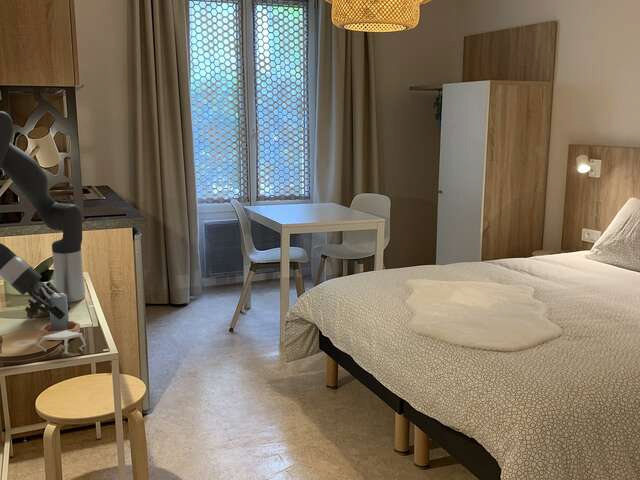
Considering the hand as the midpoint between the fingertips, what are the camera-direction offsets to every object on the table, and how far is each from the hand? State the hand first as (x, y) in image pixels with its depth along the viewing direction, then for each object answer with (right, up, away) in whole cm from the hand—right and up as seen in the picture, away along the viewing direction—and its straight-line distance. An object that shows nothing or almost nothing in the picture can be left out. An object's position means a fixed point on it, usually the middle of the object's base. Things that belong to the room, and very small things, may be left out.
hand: (65, 313), depth 191 cm
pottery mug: (-12, -3, +16) cm, 20 cm away
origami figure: (+3, -9, -10) cm, 14 cm away
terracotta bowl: (-2, -6, +1) cm, 7 cm away
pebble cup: (-2, -4, +1) cm, 5 cm away
